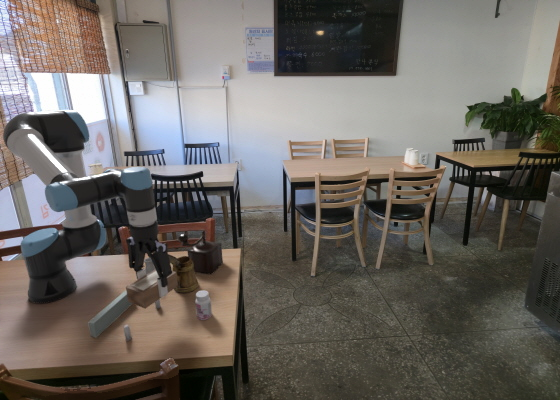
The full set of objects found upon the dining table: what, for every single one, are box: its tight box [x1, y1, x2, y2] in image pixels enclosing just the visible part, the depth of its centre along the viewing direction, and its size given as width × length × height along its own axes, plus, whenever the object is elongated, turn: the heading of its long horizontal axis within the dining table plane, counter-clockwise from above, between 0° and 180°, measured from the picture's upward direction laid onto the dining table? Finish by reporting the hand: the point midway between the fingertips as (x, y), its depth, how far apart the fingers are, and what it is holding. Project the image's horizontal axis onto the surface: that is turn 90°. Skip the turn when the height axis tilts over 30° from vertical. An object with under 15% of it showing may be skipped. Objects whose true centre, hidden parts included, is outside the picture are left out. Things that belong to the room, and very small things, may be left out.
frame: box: [125, 270, 178, 309], centre depth 106 cm, size 7×13×5 cm, turn 152°
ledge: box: [87, 289, 161, 341], centre depth 113 cm, size 13×19×5 cm
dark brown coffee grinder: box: [177, 229, 224, 275], centre depth 140 cm, size 16×11×18 cm
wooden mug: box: [168, 253, 199, 294], centre depth 127 cm, size 9×14×18 cm, turn 160°
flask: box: [144, 257, 156, 275], centre depth 133 cm, size 7×7×10 cm
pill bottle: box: [195, 290, 213, 321], centre depth 113 cm, size 5×5×8 cm
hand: (153, 291), depth 106 cm, fingers closed on frame, 7 cm apart
